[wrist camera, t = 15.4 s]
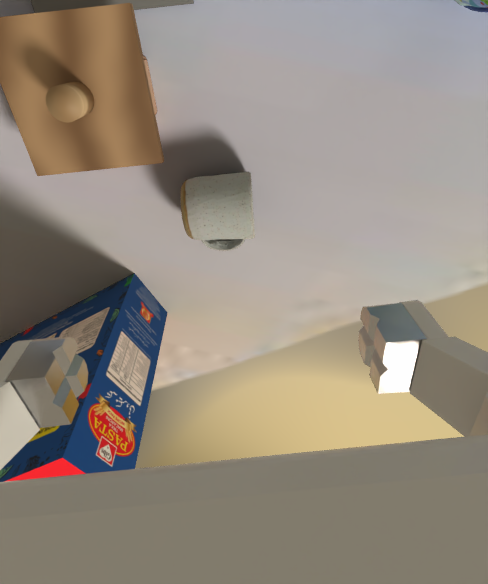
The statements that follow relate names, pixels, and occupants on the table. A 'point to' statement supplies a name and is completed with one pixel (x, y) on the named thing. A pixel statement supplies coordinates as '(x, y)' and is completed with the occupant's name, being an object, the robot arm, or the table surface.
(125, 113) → the lid
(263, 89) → the table surface
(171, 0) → the mat
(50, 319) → the pasta box
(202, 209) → the ceramic mug
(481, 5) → the lunch box
